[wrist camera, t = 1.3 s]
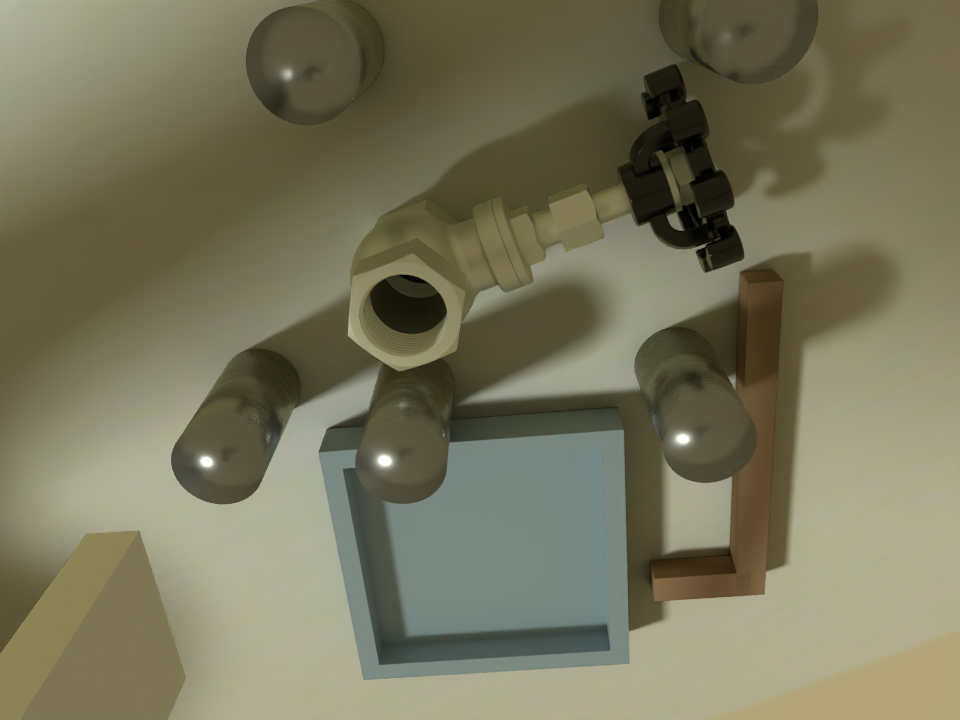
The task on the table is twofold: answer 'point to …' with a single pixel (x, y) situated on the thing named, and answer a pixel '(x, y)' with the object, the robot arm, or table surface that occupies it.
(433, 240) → the valve
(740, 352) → the hook tool
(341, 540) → the tray
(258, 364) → the spacers
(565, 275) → the table surface
